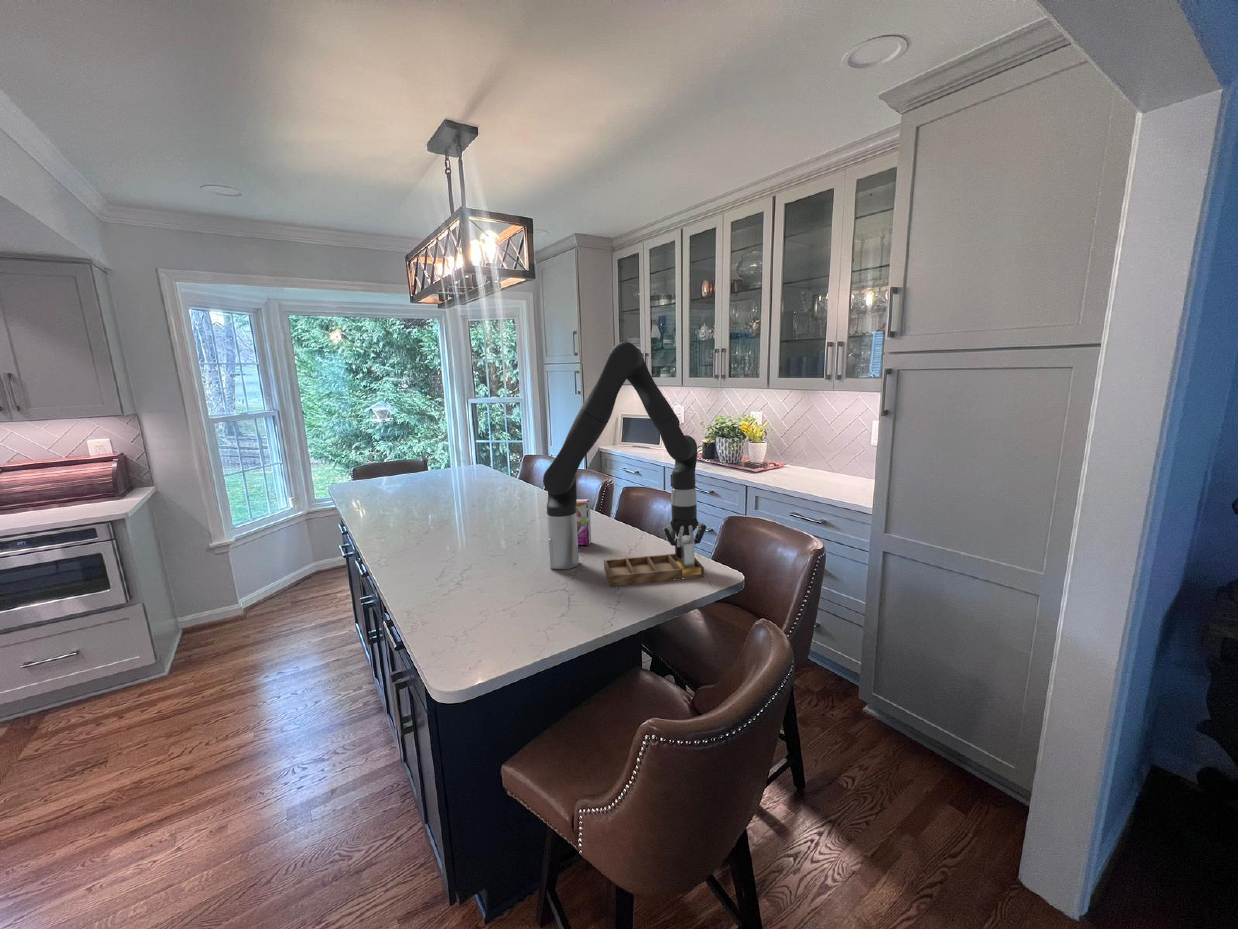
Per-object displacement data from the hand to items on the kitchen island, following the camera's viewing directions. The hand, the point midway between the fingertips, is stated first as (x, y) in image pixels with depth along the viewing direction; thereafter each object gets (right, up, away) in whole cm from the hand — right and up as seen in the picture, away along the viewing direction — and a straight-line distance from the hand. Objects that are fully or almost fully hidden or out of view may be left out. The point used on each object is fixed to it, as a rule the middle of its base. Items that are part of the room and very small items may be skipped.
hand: (684, 557), depth 152 cm
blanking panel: (0, -1, 0) cm, 1 cm away
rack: (-10, -5, -1) cm, 11 cm away
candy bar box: (-36, -1, +29) cm, 46 cm away
